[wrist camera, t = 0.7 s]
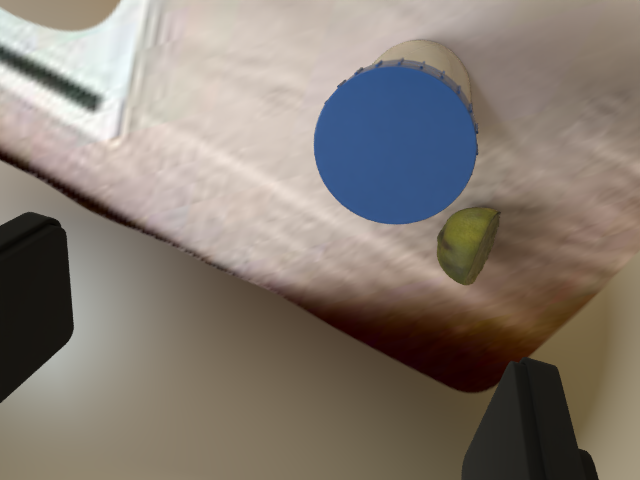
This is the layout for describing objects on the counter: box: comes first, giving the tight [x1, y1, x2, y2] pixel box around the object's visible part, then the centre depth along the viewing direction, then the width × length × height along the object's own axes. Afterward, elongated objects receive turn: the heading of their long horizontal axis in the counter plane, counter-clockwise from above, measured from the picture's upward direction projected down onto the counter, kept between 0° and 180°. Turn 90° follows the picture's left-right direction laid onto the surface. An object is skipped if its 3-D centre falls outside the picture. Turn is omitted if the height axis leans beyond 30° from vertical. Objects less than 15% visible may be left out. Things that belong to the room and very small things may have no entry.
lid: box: [314, 58, 478, 224], centre depth 22 cm, size 7×7×2 cm
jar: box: [373, 40, 471, 103], centre depth 26 cm, size 6×6×11 cm
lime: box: [437, 207, 501, 285], centre depth 32 cm, size 4×5×5 cm
